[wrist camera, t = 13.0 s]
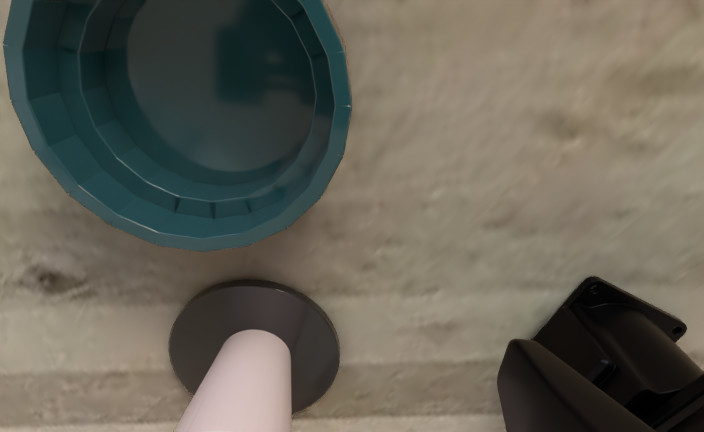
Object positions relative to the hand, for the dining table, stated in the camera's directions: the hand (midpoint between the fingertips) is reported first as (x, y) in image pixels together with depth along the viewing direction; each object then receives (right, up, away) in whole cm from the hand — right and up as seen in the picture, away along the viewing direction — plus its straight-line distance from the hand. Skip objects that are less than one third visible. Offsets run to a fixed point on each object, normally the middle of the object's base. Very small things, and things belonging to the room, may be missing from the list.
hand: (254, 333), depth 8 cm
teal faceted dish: (-4, +7, +11) cm, 14 cm away
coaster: (-3, -5, +17) cm, 18 cm away
